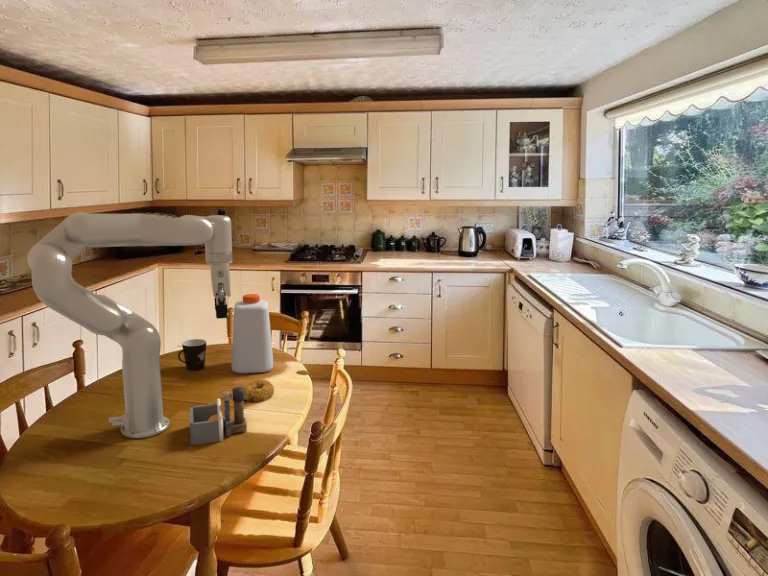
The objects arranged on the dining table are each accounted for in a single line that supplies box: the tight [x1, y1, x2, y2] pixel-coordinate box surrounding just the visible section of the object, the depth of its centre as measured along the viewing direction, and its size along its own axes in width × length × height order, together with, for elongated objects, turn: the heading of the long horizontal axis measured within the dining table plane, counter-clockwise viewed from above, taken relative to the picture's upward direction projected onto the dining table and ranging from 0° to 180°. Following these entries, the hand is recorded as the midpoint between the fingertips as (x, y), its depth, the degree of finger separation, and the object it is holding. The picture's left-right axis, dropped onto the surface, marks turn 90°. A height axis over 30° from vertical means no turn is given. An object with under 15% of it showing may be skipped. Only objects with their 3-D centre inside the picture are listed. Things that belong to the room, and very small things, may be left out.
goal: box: [189, 397, 224, 446], centre depth 146 cm, size 8×12×8 cm
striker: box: [221, 386, 248, 437], centre depth 148 cm, size 6×8×12 cm
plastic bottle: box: [231, 293, 274, 374], centre depth 196 cm, size 15×15×28 cm
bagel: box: [243, 379, 275, 402], centre depth 172 cm, size 10×11×5 cm
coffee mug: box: [177, 338, 207, 372], centre depth 194 cm, size 12×9×10 cm
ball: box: [208, 415, 225, 430], centre depth 147 cm, size 5×5×5 cm
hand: (221, 313), depth 157 cm, fingers open, 9 cm apart
